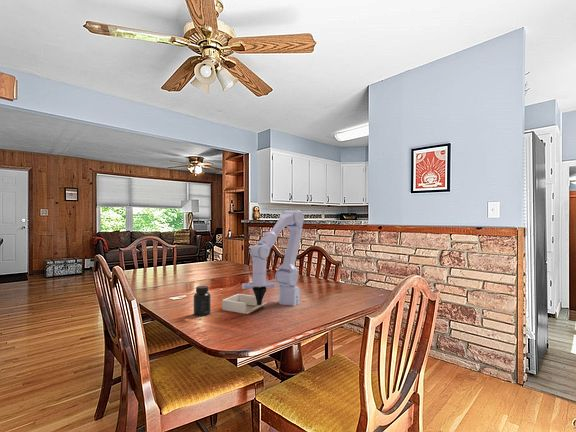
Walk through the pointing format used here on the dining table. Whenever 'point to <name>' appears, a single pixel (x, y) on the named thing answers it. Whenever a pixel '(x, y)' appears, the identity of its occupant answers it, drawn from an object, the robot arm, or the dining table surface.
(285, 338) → the dining table surface
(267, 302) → the flap
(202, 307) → the supplement bottle
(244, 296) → the carton
